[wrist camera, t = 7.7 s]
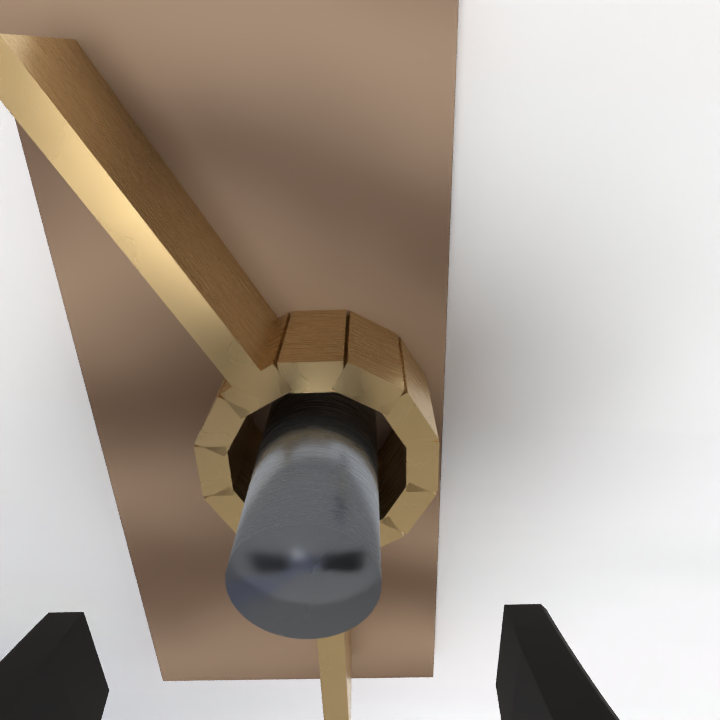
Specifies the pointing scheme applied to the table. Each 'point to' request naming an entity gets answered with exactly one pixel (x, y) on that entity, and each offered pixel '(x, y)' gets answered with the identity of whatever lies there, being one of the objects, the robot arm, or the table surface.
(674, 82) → the table surface
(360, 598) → the pin
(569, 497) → the table surface
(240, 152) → the board
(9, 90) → the hinge
